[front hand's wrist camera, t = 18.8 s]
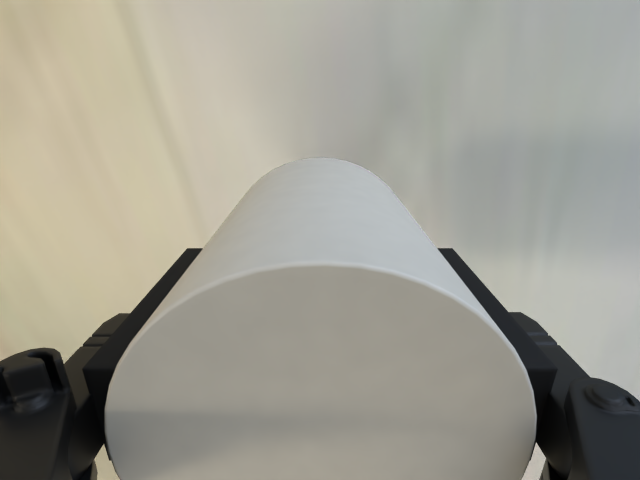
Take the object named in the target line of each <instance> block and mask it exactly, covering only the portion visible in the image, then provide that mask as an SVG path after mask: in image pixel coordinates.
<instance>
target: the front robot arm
mask: <svg viewBox="0 0 640 480" xmlns="http://www.w3.org/2000/svg"><path fill="white" fill-rule="evenodd" d="M202 249H203V248H187V249H186V251H185V252H184V253H183V254H182V255H181V256H180V257H179V259H178V260H177V261H176V262H175V263H174V264H173V265H172V267H171V268H170V269H169V270H168V271H167V272H166V273H165V275H164V276H163V277H162V278H161V279H160V280H159V281H158V282H157V284H156V285H155V286H154V287H153V288H152V289H151V290H150V292H149V293H148V294H147V295H146V296H145V297H144V298H143V300H142V301H141V302H140V303H139V304H138V305H137V306H136V308H135V309H134V310H133V311H132V312H131V313H119V314H118V315H116V316H114V317H113V318H111V319H109V320H108V321H106V322H104V323H103V324H102V325H101V326H100V327H99V328H98V329H97V330H96V331H95V332H94V333H93V334H92V337H90V338H89V339H88V340H87V341H86V342H85V343H84V344H83V347H80V348H79V349H78V350H77V351H76V352H75V353H74V354H73V355H72V356H71V357H70V358H69V359H68V360H67V362H66V363H65V364H63V360H62V357H61V354H60V352H58V351H57V350H55V349H51V348H38V349H30V350H27V351H24V352H21V353H17V354H15V355H12V356H10V357H8V358H6V359H4V360H2V361H0V480H97V468H96V464H95V460H94V458H95V457H96V455H97V453H98V452H99V450H100V449H101V447H102V445H103V444H104V445H105V448H106V451H107V455H108V458H109V460H111V458H110V455H109V452H108V447H107V442H106V436H105V405H106V399H107V394H108V389H109V384H110V382H111V379H112V377H113V374H114V371H115V369H116V366H117V364H118V362H119V360H120V359H121V357H122V355H123V354H124V352H125V351H126V349H127V347H128V346H129V344H130V342H131V341H132V340H133V338H134V337H135V336H136V335H137V333H138V332H139V331H140V329H141V328H142V327H143V326H144V324H145V323H146V322H147V320H148V319H149V318H150V317H151V315H152V314H153V313H154V311H155V310H156V309H157V307H158V306H159V305H160V304H161V302H162V301H163V300H164V298H165V297H166V296H167V295H168V293H169V292H170V291H171V289H172V288H173V287H174V286H175V284H176V283H177V282H178V280H179V279H180V278H181V276H182V275H183V274H184V273H185V271H186V270H187V269H188V267H189V266H190V265H191V264H192V262H193V261H194V260H195V258H196V257H197V256H198V255H199V253H200V252H201V251H202ZM437 249H438V250H439V251H440V253H441V254H442V255H443V257H444V258H445V259H446V260H447V262H448V263H449V264H450V266H451V267H452V268H453V269H454V271H455V272H456V273H457V275H458V276H459V277H460V279H461V280H462V281H463V282H464V284H465V285H466V286H467V288H468V289H469V290H470V291H471V293H472V294H473V295H474V297H475V298H476V299H477V300H478V302H479V303H480V304H481V306H482V307H483V308H484V309H485V311H486V312H487V313H488V315H489V316H490V317H491V318H492V320H493V321H494V322H495V324H496V325H497V326H498V327H499V329H500V330H501V331H502V333H503V334H504V335H505V336H506V338H507V339H508V340H509V342H510V343H511V344H512V345H513V347H514V348H515V350H516V352H517V354H518V355H519V357H520V359H521V361H522V363H523V365H524V366H525V368H526V370H527V373H528V376H529V379H530V383H531V386H532V389H533V392H534V399H535V407H536V414H537V421H536V438H535V442H534V446H533V450H534V447H535V444H536V442H537V444H538V446H539V447H540V449H541V450H542V452H543V454H544V455H545V457H546V460H545V464H544V467H543V470H542V473H541V476H540V479H539V480H640V402H639V400H637V399H636V398H635V397H634V396H633V395H631V394H630V393H629V392H628V391H626V390H624V389H622V388H620V387H619V386H617V385H615V384H613V383H610V382H607V381H604V380H601V379H597V378H591V377H589V376H588V375H587V373H586V372H585V371H584V370H583V369H582V368H581V367H580V366H579V365H578V364H577V363H576V362H575V361H574V360H573V359H572V358H571V357H570V356H569V355H568V354H567V353H566V352H565V351H564V350H563V349H562V348H561V347H560V346H559V345H557V342H556V341H555V340H554V339H553V338H552V337H551V336H548V333H547V332H546V331H545V330H544V329H543V328H542V327H541V326H540V325H539V324H538V323H537V322H536V321H534V320H533V319H531V318H529V317H528V316H526V315H524V314H523V313H521V312H508V311H507V310H506V309H505V308H504V307H503V306H502V304H501V303H500V302H499V301H498V300H497V299H496V298H495V296H494V295H493V294H492V293H491V292H490V291H489V290H488V288H487V287H486V286H485V285H484V284H483V283H482V282H481V280H480V279H479V278H478V277H477V276H476V275H475V274H474V273H473V271H472V270H471V269H470V268H469V267H468V266H467V265H466V263H465V262H464V261H463V260H462V259H461V258H460V257H459V255H458V254H457V253H456V252H455V251H454V250H453V249H452V248H437ZM532 454H533V451H532ZM531 457H532V455H531ZM530 460H531V458H530Z"/></svg>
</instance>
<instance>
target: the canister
mask: <svg viewBox="0 0 640 480" xmlns="http://www.w3.org/2000/svg"><path fill="white" fill-rule="evenodd" d="M536 421H537V414H536V407H535V399H534V392H533V389H532V386H531V383H530V379H529V376H528V373H527V370H526V368H525V366H524V365H523V363H522V361H521V359H520V357H519V355H518V354H517V352H516V350H515V348H514V347H513V345H512V344H511V343H510V342H509V340H508V339H507V338H506V336H505V335H504V334H503V333H502V331H501V330H500V329H499V327H498V326H497V325H496V324H495V322H494V321H493V320H492V318H491V317H490V316H489V315H488V313H487V312H486V311H485V309H484V308H483V307H482V306H481V304H480V303H479V302H478V300H477V299H476V298H475V297H474V295H473V294H472V293H471V291H470V290H469V289H468V288H467V286H466V285H465V284H464V282H463V281H462V280H461V279H460V277H459V276H458V275H457V273H456V272H455V271H454V269H453V268H452V267H451V266H450V264H449V263H448V262H447V260H446V259H445V258H444V257H443V255H442V254H441V253H440V251H439V250H438V249H437V248H436V246H435V245H434V244H433V242H432V241H431V240H430V239H429V237H428V236H427V235H426V233H425V232H424V231H423V230H422V228H421V227H420V226H419V224H418V223H417V222H416V221H415V219H414V218H413V217H412V215H411V214H410V213H409V212H408V210H407V209H406V208H405V206H404V205H403V204H402V202H401V201H400V200H399V199H398V197H397V196H396V195H395V194H394V192H393V191H392V190H391V188H390V187H389V186H388V185H387V184H386V183H385V182H384V181H382V180H381V179H380V178H379V177H378V176H376V175H375V174H373V173H372V172H371V171H369V170H367V169H365V168H363V167H361V166H359V165H356V164H354V163H351V162H348V161H344V160H340V159H335V158H323V157H320V158H306V159H301V160H296V161H293V162H290V163H287V164H284V165H282V166H280V167H278V168H275V169H273V170H272V171H270V172H269V173H267V174H266V175H264V176H263V177H261V178H260V179H259V180H258V181H257V182H256V183H255V184H254V185H253V186H252V187H251V188H250V189H249V190H248V192H247V193H246V194H245V195H244V196H243V198H242V199H241V200H240V202H239V203H238V204H237V205H236V207H235V208H234V209H233V211H232V212H231V213H230V215H229V216H228V217H227V218H226V220H225V221H224V222H223V224H222V225H221V226H220V227H219V229H218V230H217V231H216V233H215V234H214V235H213V236H212V238H211V239H210V240H209V242H208V243H207V244H206V246H205V247H204V248H203V249H202V251H201V252H200V253H199V255H198V256H197V257H196V258H195V260H194V261H193V262H192V264H191V265H190V266H189V267H188V269H187V270H186V271H185V273H184V274H183V275H182V276H181V278H180V279H179V280H178V282H177V283H176V284H175V286H174V287H173V288H172V289H171V291H170V292H169V293H168V295H167V296H166V297H165V298H164V300H163V301H162V302H161V304H160V305H159V306H158V307H157V309H156V310H155V311H154V313H153V314H152V315H151V317H150V318H149V319H148V320H147V322H146V323H145V324H144V326H143V327H142V328H141V329H140V331H139V332H138V333H137V335H136V336H135V337H134V338H133V340H132V341H131V342H130V344H129V346H128V347H127V349H126V351H125V352H124V354H123V355H122V357H121V359H120V360H119V362H118V364H117V366H116V369H115V371H114V374H113V377H112V379H111V382H110V384H109V389H108V394H107V399H106V405H105V436H106V442H107V447H108V452H109V455H110V458H111V461H112V463H113V466H114V469H115V471H116V473H117V475H118V477H119V479H120V480H521V479H522V477H523V475H524V473H525V470H526V468H527V466H528V463H529V461H530V458H531V455H532V451H533V446H534V442H535V438H536Z"/></svg>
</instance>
